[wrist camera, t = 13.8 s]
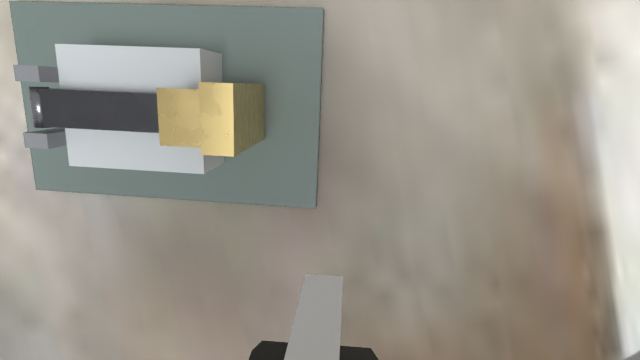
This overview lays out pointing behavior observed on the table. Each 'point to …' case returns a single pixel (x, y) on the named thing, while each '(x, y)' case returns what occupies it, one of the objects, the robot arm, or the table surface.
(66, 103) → the strap
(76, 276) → the table surface
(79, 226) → the table surface
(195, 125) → the notched wooden block
